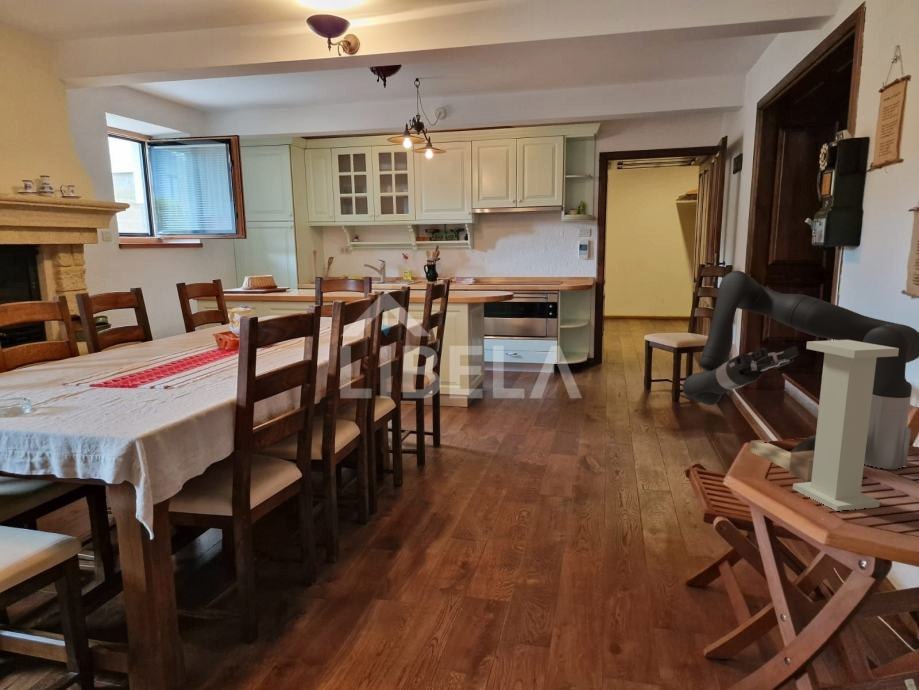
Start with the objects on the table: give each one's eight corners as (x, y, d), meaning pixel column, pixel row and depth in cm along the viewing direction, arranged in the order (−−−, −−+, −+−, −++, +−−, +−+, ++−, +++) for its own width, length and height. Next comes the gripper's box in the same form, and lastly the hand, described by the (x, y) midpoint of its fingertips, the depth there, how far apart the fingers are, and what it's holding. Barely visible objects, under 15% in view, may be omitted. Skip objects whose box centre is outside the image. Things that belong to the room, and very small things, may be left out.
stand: (792, 488, 119) (807, 341, 114) (832, 484, 121) (847, 339, 116) (836, 511, 109) (854, 350, 103) (879, 506, 111) (898, 348, 106)
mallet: (744, 452, 141) (746, 433, 140) (764, 450, 143) (766, 431, 142) (807, 482, 123) (809, 460, 122) (829, 479, 124) (831, 458, 124)
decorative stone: (815, 467, 132) (817, 450, 131) (786, 459, 137) (787, 443, 136) (842, 451, 142) (844, 435, 142) (814, 444, 147) (815, 429, 147)
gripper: (710, 360, 147) (750, 337, 132) (757, 357, 150) (802, 335, 135) (718, 387, 144) (760, 367, 129) (765, 384, 147) (812, 364, 132)
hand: (781, 350), depth 132 cm, fingers open, 8 cm apart
